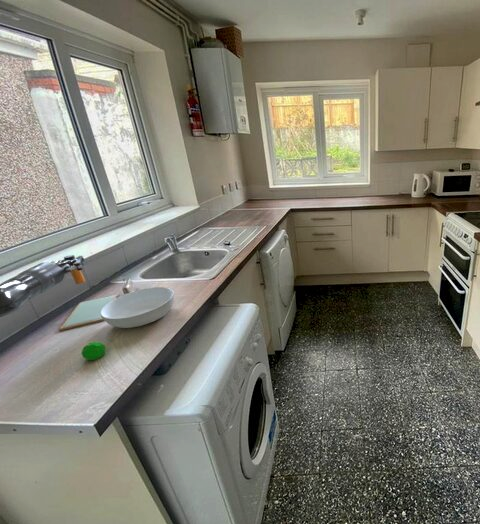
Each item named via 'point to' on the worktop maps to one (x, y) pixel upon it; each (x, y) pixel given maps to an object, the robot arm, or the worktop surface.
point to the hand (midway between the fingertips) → (76, 258)
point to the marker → (75, 272)
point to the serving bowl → (138, 307)
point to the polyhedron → (93, 351)
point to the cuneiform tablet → (128, 286)
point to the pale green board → (87, 313)
